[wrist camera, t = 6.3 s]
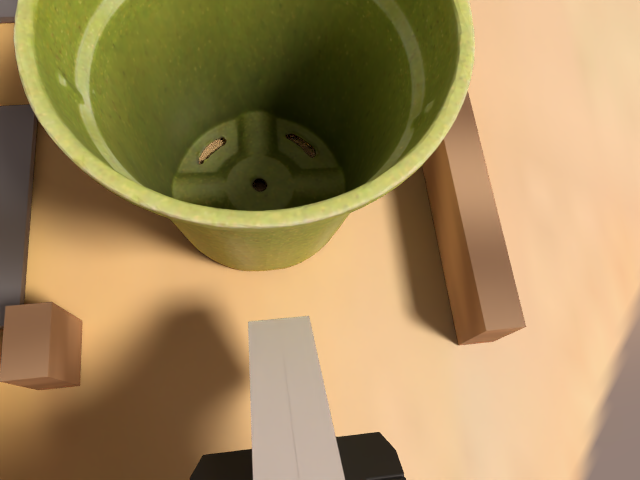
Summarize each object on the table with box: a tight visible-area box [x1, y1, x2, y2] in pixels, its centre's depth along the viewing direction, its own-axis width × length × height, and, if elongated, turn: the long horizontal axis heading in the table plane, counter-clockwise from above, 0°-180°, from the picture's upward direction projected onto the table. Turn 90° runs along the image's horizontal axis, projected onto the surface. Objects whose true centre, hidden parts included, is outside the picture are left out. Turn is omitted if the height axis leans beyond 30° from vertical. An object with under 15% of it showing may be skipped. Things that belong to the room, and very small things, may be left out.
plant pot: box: [14, 0, 475, 271], centre depth 15 cm, size 9×9×9 cm
